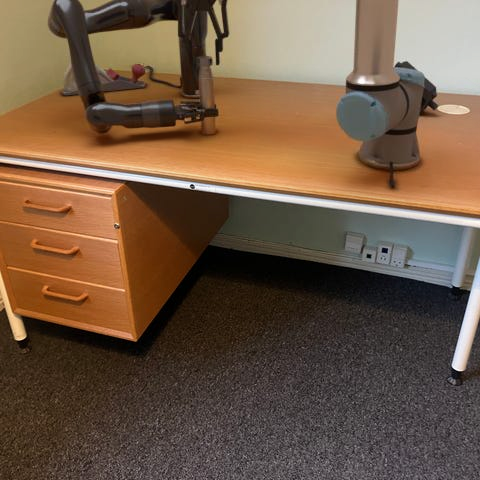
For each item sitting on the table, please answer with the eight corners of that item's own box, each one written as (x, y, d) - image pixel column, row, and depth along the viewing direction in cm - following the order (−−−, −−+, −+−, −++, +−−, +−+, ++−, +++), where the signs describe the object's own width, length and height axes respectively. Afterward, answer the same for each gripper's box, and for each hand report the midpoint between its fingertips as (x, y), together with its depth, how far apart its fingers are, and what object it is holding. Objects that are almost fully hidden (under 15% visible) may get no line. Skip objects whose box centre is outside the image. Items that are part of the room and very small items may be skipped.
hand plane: (62, 90, 197) (53, 48, 189) (145, 82, 205) (140, 41, 197) (62, 96, 191) (54, 53, 184) (148, 87, 199) (143, 45, 191)
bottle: (210, 128, 161) (206, 57, 150) (218, 132, 158) (215, 60, 147) (198, 131, 159) (194, 60, 148) (207, 135, 156) (203, 62, 145)
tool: (376, 92, 179) (403, 55, 168) (419, 129, 175) (449, 94, 164) (367, 96, 175) (394, 59, 164) (411, 135, 171) (441, 99, 160)
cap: (215, 64, 148) (215, 57, 147) (204, 67, 145) (204, 60, 144) (205, 62, 150) (205, 55, 149) (194, 65, 148) (194, 57, 147)
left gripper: (157, 109, 145) (220, 104, 147) (155, 94, 157) (213, 90, 159) (160, 135, 149) (221, 130, 151) (158, 118, 161) (214, 114, 163)
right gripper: (239, -31, 138) (240, 60, 150) (165, -30, 139) (173, 60, 152) (236, -28, 132) (238, 67, 144) (160, -27, 133) (168, 67, 145)
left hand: (216, 109), depth 155 cm, fingers closed on bottle, 4 cm apart
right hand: (205, 63), depth 148 cm, fingers open, 6 cm apart
